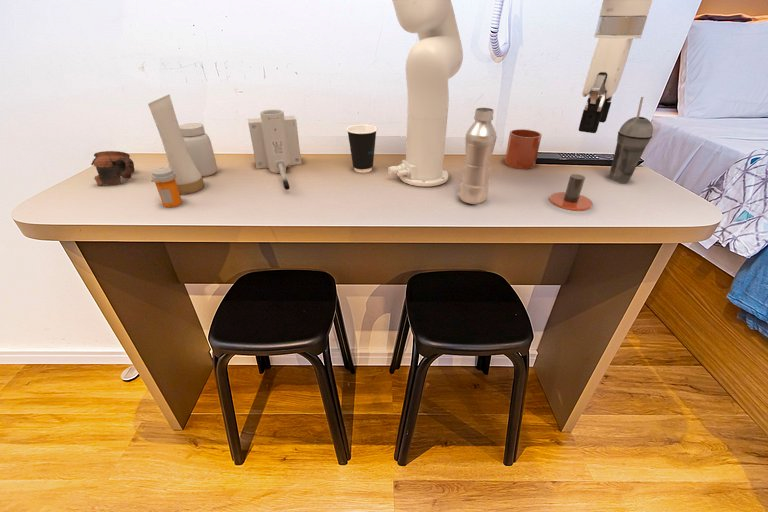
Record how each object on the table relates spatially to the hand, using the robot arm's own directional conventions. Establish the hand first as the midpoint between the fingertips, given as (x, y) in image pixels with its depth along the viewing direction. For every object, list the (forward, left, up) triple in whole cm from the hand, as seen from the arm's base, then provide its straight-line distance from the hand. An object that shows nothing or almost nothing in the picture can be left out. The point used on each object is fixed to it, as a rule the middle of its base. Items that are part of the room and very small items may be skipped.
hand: (592, 126), depth 78 cm
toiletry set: (-78, +46, -17) cm, 92 cm away
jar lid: (-1, 0, -16) cm, 16 cm away
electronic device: (-56, +43, -17) cm, 72 cm away
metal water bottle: (-20, +10, -17) cm, 28 cm away
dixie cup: (-35, +39, -17) cm, 55 cm away
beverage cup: (+22, +5, -17) cm, 29 cm away
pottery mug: (-94, +58, -17) cm, 111 cm away
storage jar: (+7, +25, -17) cm, 31 cm away
